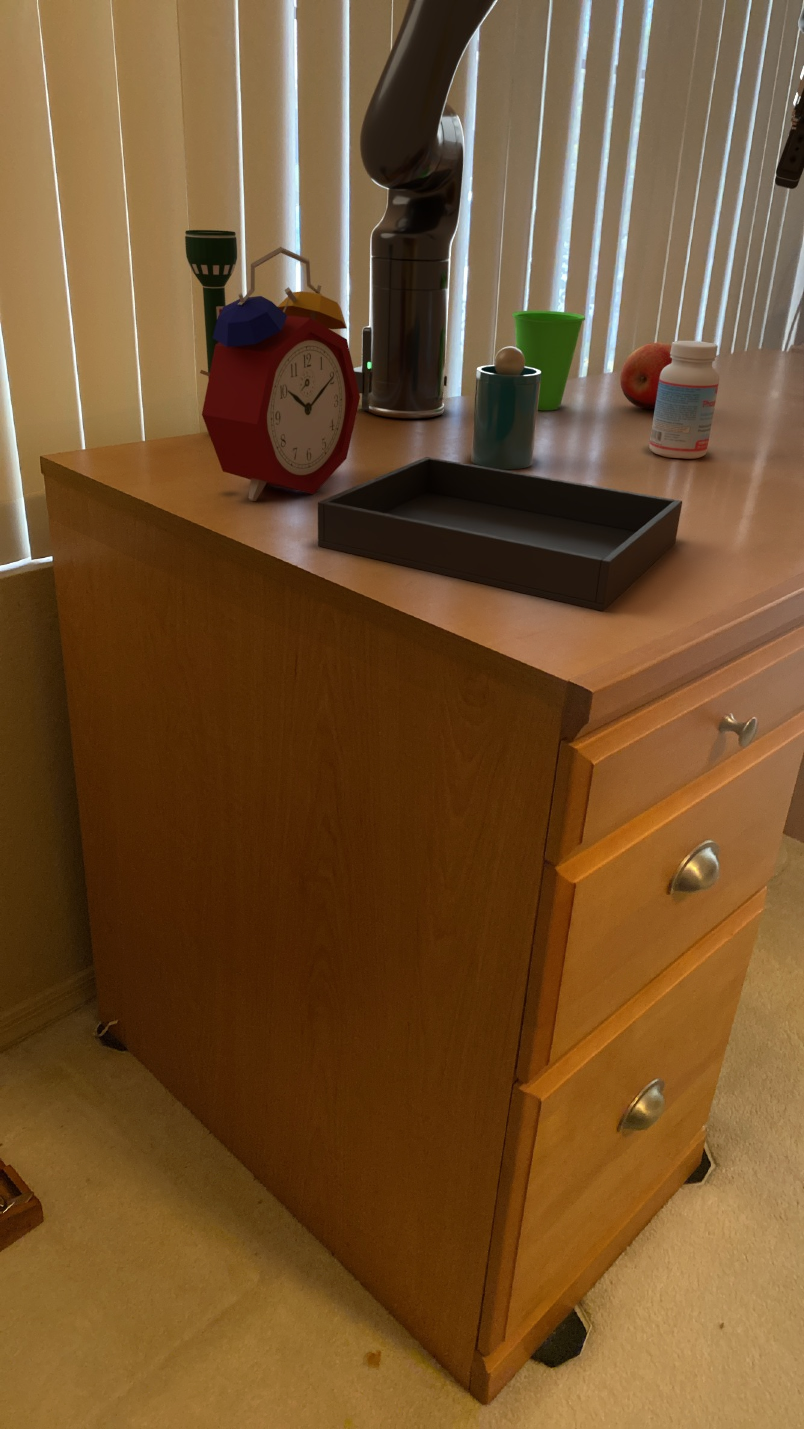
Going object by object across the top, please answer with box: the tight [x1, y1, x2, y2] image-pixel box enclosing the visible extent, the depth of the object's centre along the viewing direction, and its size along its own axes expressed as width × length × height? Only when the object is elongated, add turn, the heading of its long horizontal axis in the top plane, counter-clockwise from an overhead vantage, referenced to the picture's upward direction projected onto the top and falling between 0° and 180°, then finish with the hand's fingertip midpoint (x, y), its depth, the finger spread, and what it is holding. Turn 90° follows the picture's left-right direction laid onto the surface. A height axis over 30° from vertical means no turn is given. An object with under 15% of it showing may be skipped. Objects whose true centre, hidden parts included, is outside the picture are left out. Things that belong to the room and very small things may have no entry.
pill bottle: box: [648, 340, 720, 460], centre depth 103 cm, size 6×6×11 cm
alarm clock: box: [199, 246, 361, 502], centre depth 85 cm, size 15×9×20 cm, turn 148°
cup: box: [511, 310, 586, 411], centre depth 124 cm, size 9×9×11 cm
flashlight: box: [184, 229, 238, 380], centre depth 102 cm, size 5×5×20 cm
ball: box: [493, 345, 525, 375], centre depth 96 cm, size 3×3×3 cm
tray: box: [317, 456, 683, 612], centre depth 77 cm, size 23×17×4 cm
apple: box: [619, 342, 672, 410], centre depth 125 cm, size 8×8×8 cm
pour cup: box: [470, 364, 541, 471], centre depth 98 cm, size 6×6×9 cm
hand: (785, 183), depth 90 cm, fingers open, 8 cm apart
